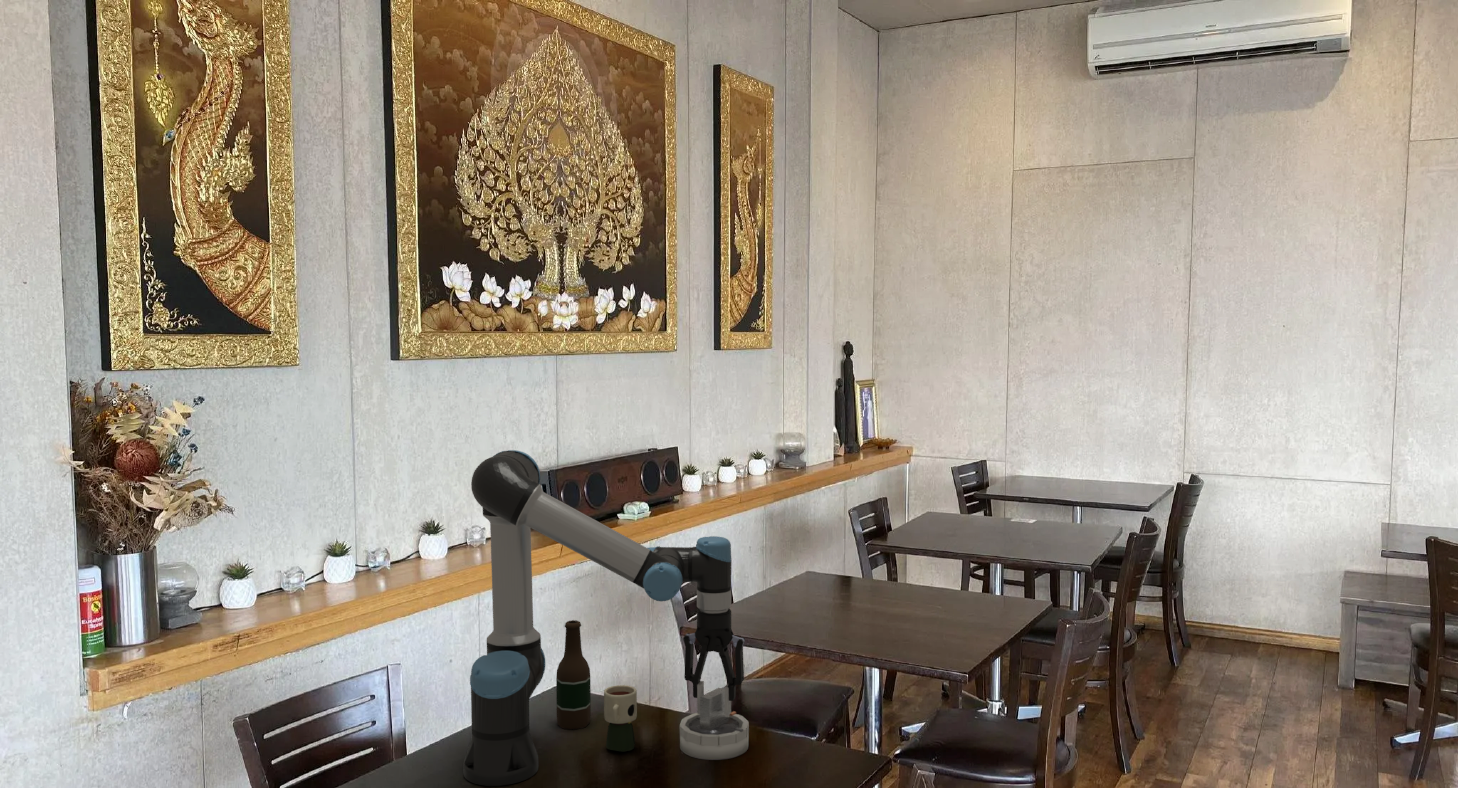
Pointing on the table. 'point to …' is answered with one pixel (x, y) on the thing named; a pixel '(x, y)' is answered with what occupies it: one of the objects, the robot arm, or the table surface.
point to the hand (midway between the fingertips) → (714, 713)
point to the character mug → (620, 716)
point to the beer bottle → (573, 682)
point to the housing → (714, 740)
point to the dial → (713, 715)
